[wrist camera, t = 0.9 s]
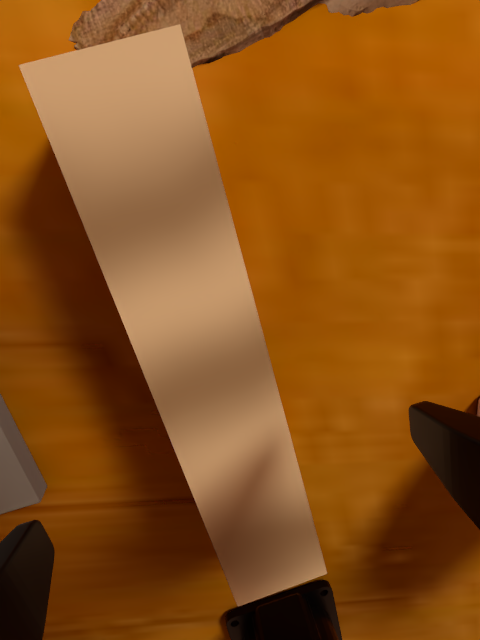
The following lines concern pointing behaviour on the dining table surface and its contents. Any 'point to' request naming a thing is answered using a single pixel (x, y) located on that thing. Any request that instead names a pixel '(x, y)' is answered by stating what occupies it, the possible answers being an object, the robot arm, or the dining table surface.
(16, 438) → the fulcrum
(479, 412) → the jar
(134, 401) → the dining table surface
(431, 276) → the dining table surface
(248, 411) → the beech bar
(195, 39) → the fish fossil
